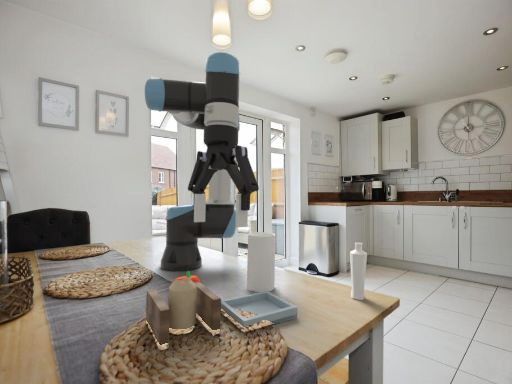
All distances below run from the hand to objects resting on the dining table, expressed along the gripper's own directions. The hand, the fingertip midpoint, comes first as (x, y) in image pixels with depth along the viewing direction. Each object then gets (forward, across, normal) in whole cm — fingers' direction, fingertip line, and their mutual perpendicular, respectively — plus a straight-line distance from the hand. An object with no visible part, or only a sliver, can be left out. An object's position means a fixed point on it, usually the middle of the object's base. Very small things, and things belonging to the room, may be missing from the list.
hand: (218, 224), depth 59 cm
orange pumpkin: (+21, -18, +5) cm, 28 cm away
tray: (+21, +4, +9) cm, 23 cm away
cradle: (+21, -3, -7) cm, 22 cm away
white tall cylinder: (+21, -7, +24) cm, 33 cm away
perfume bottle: (+21, +17, +36) cm, 45 cm away
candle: (+21, -3, -7) cm, 23 cm away
